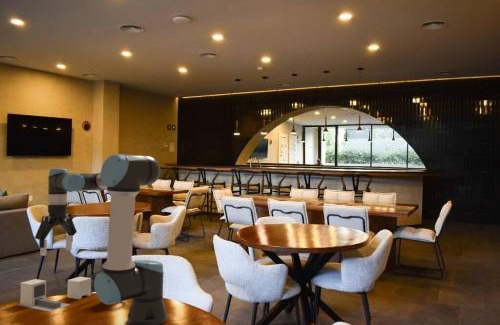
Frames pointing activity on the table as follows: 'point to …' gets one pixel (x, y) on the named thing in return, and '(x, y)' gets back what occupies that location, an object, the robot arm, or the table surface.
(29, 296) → the fixed jaw
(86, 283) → the jaw block
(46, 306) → the board
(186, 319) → the table surface
